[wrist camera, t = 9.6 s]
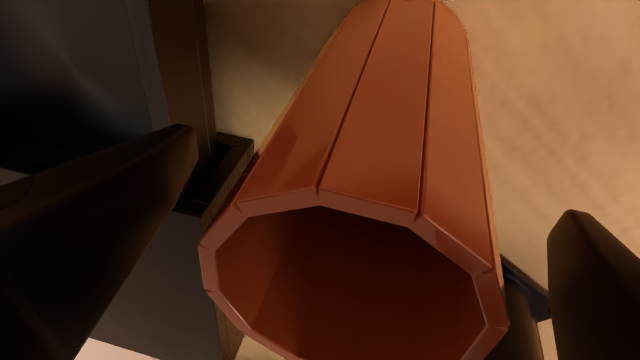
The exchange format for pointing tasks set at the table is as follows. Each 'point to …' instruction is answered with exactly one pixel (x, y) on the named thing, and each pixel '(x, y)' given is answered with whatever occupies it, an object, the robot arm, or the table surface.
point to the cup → (368, 203)
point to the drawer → (103, 78)
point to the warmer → (170, 273)
